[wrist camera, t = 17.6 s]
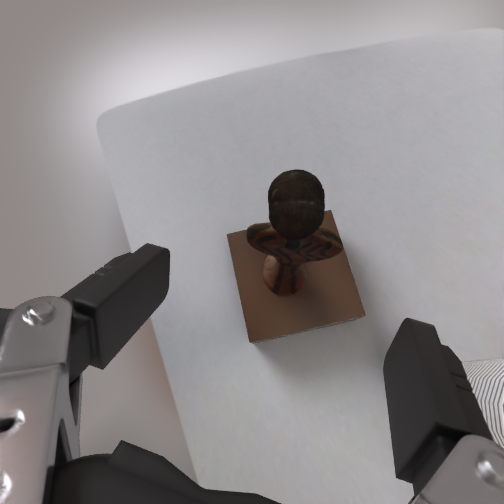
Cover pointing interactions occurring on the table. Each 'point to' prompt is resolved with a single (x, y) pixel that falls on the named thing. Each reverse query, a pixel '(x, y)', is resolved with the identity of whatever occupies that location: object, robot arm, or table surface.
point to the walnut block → (301, 304)
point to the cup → (489, 393)
